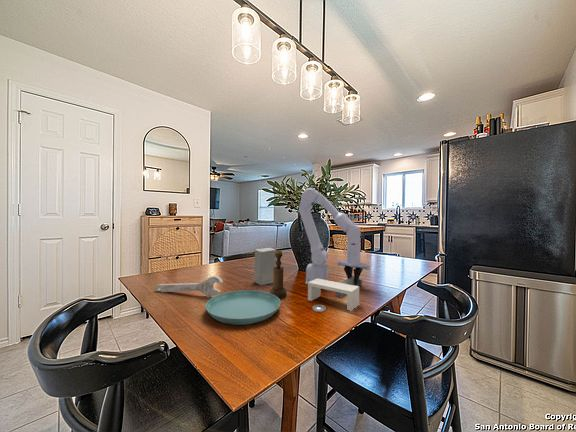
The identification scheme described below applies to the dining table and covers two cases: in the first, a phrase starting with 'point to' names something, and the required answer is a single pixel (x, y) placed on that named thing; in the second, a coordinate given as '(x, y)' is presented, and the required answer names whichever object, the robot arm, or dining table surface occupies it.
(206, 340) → the dining table surface
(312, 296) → the low bench
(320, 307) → the steel disc
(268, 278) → the skincare box
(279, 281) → the pepper mill
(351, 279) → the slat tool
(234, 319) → the saucer
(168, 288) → the wrench
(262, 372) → the dining table surface
